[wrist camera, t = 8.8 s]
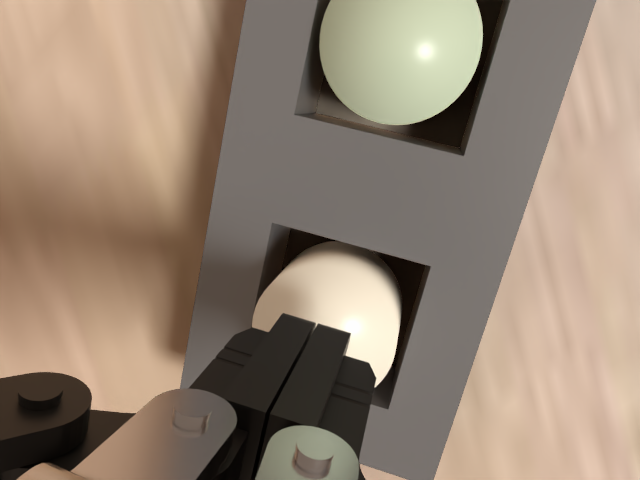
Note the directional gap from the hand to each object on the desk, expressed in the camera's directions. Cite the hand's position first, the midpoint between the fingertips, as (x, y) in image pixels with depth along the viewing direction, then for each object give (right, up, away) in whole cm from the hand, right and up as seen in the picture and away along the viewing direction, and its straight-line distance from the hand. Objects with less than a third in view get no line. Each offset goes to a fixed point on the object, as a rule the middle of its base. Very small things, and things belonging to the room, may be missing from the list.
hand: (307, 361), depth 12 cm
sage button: (+3, +8, +3) cm, 8 cm away
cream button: (+1, +1, +4) cm, 4 cm away
